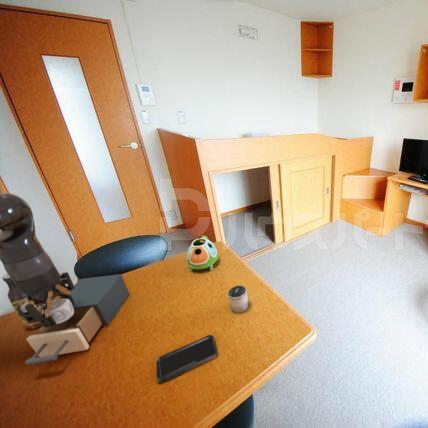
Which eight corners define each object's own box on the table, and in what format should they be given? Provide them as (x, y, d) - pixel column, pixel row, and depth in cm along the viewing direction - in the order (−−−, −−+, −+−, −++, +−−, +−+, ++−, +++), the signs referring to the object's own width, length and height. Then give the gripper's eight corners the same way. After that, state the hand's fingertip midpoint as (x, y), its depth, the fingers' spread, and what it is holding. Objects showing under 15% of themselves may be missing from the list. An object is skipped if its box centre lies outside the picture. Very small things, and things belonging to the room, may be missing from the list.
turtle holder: (221, 249, 120) (217, 228, 115) (216, 271, 104) (211, 248, 99) (194, 252, 117) (189, 231, 112) (185, 275, 101) (179, 252, 96)
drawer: (73, 369, 65) (60, 350, 61) (22, 378, 62) (5, 359, 59) (112, 313, 82) (103, 296, 78) (72, 319, 79) (62, 302, 76)
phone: (156, 357, 68) (212, 333, 75) (157, 360, 68) (213, 336, 75) (156, 383, 62) (217, 354, 69) (158, 385, 62) (218, 356, 69)
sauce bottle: (25, 333, 75) (-11, 285, 67) (28, 321, 79) (-5, 273, 71) (54, 322, 79) (24, 275, 71) (56, 311, 83) (27, 265, 75)
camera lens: (250, 300, 89) (248, 283, 86) (246, 313, 84) (243, 296, 80) (233, 300, 89) (230, 284, 86) (228, 313, 83) (224, 296, 80)
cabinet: (108, 325, 78) (97, 304, 74) (62, 332, 76) (48, 310, 72) (129, 293, 91) (121, 274, 87) (91, 299, 89) (80, 278, 85)
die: (74, 307, 72) (67, 295, 70) (74, 317, 69) (66, 305, 67) (50, 316, 69) (42, 304, 67) (49, 327, 66) (40, 314, 64)
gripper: (37, 255, 67) (63, 299, 74) (-14, 291, 55) (23, 340, 62) (69, 252, 69) (91, 295, 76) (26, 286, 56) (58, 334, 63)
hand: (61, 315), depth 69 cm, fingers closed on die, 6 cm apart
